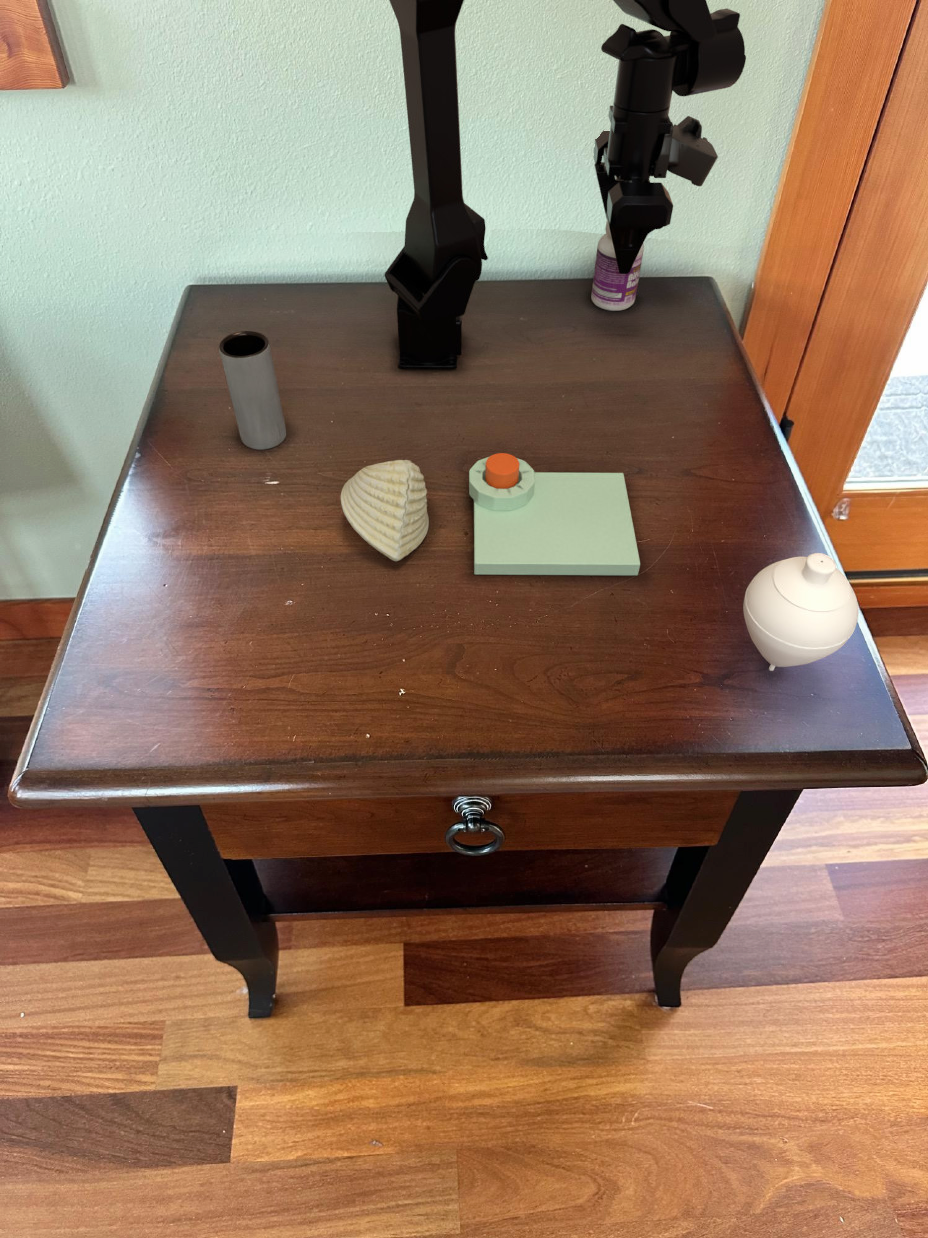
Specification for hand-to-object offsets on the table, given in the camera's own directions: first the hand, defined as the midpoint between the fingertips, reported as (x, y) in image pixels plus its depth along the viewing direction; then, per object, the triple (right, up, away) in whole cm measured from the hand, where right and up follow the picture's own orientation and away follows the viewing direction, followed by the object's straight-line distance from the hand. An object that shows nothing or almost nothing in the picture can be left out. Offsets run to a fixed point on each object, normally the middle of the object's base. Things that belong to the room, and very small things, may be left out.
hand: (619, 253), depth 97 cm
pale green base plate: (-10, -34, -22) cm, 42 cm away
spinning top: (+6, -46, -32) cm, 57 cm away
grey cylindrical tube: (-38, -24, -13) cm, 47 cm away
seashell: (-25, -34, -21) cm, 47 cm away
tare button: (-15, -30, -21) cm, 39 cm away
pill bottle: (0, -4, +5) cm, 6 cm away
